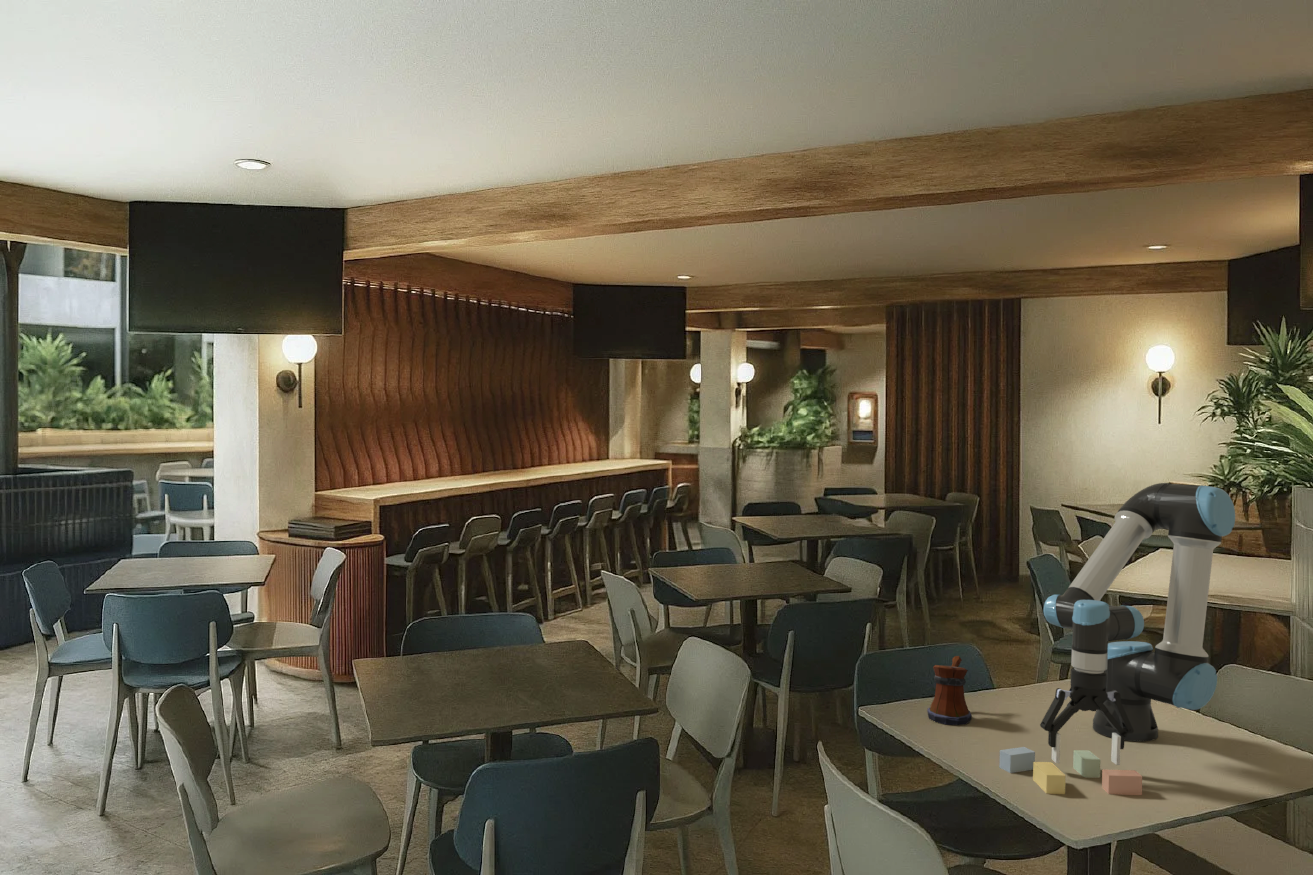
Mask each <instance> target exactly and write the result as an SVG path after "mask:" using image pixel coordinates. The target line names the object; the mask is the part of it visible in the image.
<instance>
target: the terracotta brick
mask: <svg viewBox="0 0 1313 875" xmlns="http://www.w3.org/2000/svg"><path fill="white" fill-rule="evenodd" d="M1101 771H1102V772H1101V774H1102V775H1101V776H1102V777H1101V789H1103V790H1104V791H1105V792H1106V793H1107V794H1108V795H1121V796H1122V795H1127V796H1128V795H1129V796H1142V795H1143V776H1142V774H1140V773H1139V772H1138V771H1137V770H1133V769H1106V768H1105V769H1102V770H1101Z"/></svg>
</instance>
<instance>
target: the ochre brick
mask: <svg viewBox="0 0 1313 875" xmlns="http://www.w3.org/2000/svg"><path fill="white" fill-rule="evenodd" d="M1032 780H1033V782H1034V783H1035V784H1036V785H1038V786H1039V788H1040V789H1041V790H1042V791H1043V792H1044V793H1045V794H1046V795H1048V794H1049V795H1050V794H1051V795H1065V794H1066V774H1065V773H1064V772H1063V771H1061V770H1060V768H1058V767H1057V766H1056V765H1055V764H1054V763H1053V762H1051V761H1050V762H1049V761H1035V762H1033V771H1032Z"/></svg>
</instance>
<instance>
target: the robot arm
mask: <svg viewBox="0 0 1313 875" xmlns="http://www.w3.org/2000/svg"><path fill="white" fill-rule="evenodd" d="M1235 524H1236V510H1235V505H1234V503H1233V500H1232V498H1231V496H1230V495H1229V493H1228V492H1226V491H1225V490H1224V489H1222V488H1219V487H1215V486H1208V485H1198V484H1197V485H1196V484H1183V483H1182V484H1181V483H1171V482H1159V483H1155V484H1151V485H1149V486H1147V487H1144V488H1143V489H1141V490H1139V491H1138V492H1137V493H1135V494H1133V495H1132V496H1131V497H1130V498H1128V500H1127V501H1125V502H1124V503H1123V504H1122V506H1121V507H1119V509H1118V511H1117V512H1116V513H1115V515H1114V524H1113V525H1112V527H1111V528H1110V529H1109V530H1108V532H1107V533H1106V534H1105V536H1104V537H1103V539H1102V540H1101V541H1100V542H1099V544H1098V546H1097V547H1096V548H1095V550H1093V553H1091V555H1090V557H1089V558H1088V560H1087V561H1086V562H1085V564H1084V565H1083V567H1081V570H1080V571H1079V572H1078V573H1077V575H1076V577H1075V578H1074V579H1073V581H1071V583H1070V584H1069V586H1068V587H1067V588H1066V589H1065V592H1064V593H1063V594H1052V595H1051V596H1048V597H1047V599H1045V601H1044V605H1043V615H1044V618H1045V620H1046V621H1047V622H1048V623H1049V624H1050V625H1053V626H1056V627H1060V628H1061V629H1067V630H1068V629H1069V630H1072V644H1071V660H1070V661H1071V663H1070V665H1071V669H1070V687H1069V689H1068V690H1066V689H1065V690H1064V689H1061V688H1060V687H1058V688H1056V689H1055V694H1054V698H1053V699H1052V701H1051V704H1050V706H1049V707H1048V709H1047V711H1046V713H1045V714H1044V716H1043V718H1042V720H1041V722H1040V723H1039V727H1040V728H1041V729H1042V730H1044V731H1046V732H1048V733H1047V734H1048V735H1047V736H1048V738H1047V739H1048V740H1047V745H1048V746H1049V747H1050V748H1051V760H1052V761H1053V762H1054V763H1055V764H1060V756H1061V734H1060V733H1059V732H1060V730H1061V729H1062V728H1063V727H1064V725H1065V724H1067V722H1068V721H1069V720H1070V719H1072V718H1071V717H1073V716H1074V714H1077V713H1078V712H1079V711H1080V710H1081V711H1082V712H1088V711H1090V712H1095V713H1094V717H1093V718H1092V729H1093V731H1094V732H1096V733H1097V734H1100V735H1102V736H1105V737H1108V738H1111V752H1110V754H1111V755H1110V761H1111V762H1112V763H1113V764H1115V765H1116V766H1120V765H1121V750H1124V748H1125V741H1129V742H1149V741H1153V740H1156V739H1158V737H1159V728H1158V727H1159V726H1158V724H1157V721H1156V718H1155V714H1154V711H1153V708H1152V700H1153V701H1157V702H1160V703H1164V704H1167V705H1171V706H1174V707H1176V708H1180V709H1182V708H1183V709H1187V710H1192V711H1197V710H1200V709H1202V708H1203V707H1205V706H1206V705H1208V703H1209V702H1210V701H1211V699H1212V698H1213V697H1214V693H1215V691H1216V689H1217V685H1218V674H1217V671H1216V668H1215V667H1214V666H1213V665H1211V664H1210V663H1209V654H1208V653H1207V652H1206V650H1205V649H1204V648H1203V643H1204V634H1205V626H1206V618H1207V608H1208V601H1209V599H1208V598H1209V590H1210V582H1211V581H1210V580H1211V572H1212V564H1213V556H1214V553H1213V552H1214V550H1215V549H1216V547H1218V546H1220V545H1221V544H1222V538H1223V537H1225V536H1228V535H1230V534H1231V533H1232V531H1233V528H1234V527H1235ZM1161 529H1162V530H1168V534H1167V537H1168V538H1169V539H1170V541H1171V542H1172V543H1173V550H1172V559H1171V565H1170V566H1171V567H1170V576H1169V585H1168V586H1169V587H1168V593H1167V602H1166V610H1165V617H1164V618H1165V619H1164V620H1165V621H1164V629H1163V637H1162V638H1163V639H1162V640H1161V641H1160V642H1159V643H1157V644H1155V648H1153V644H1151V643H1149V642H1146V641H1136V640H1135V641H1128V640H1130V639H1133V638H1136V637H1139V635H1140V634H1141V633H1142V632H1143V630H1144V628H1145V619H1144V616H1143V614H1142V613H1141V611H1140V610H1139V609H1137V608H1136V607H1134V606H1131V605H1124V604H1122V605H1119V606H1118V605H1112V604H1111V605H1110V604H1109V603H1107V602H1105V601H1101V600H1102V598H1103V597H1104V595H1105V594H1106V593H1107V591H1108V590H1109V588H1110V587H1111V586H1112V584H1113V582H1114V581H1115V579H1116V578H1117V577H1118V575H1119V574H1120V573H1121V571H1122V570H1123V568H1124V567H1125V565H1126V564H1127V563H1128V561H1129V560H1130V559H1131V557H1132V556H1133V554H1134V553H1135V551H1136V550H1137V548H1138V547H1139V546H1140V544H1141V543H1142V541H1143V540H1146V539H1149V538H1150V537H1151V536H1152V535H1153V534H1154V532H1155V531H1158V530H1161ZM1122 640H1123V641H1122ZM1125 640H1126V641H1125ZM1068 698H1070V700H1069V701H1068V702H1067V703H1066V707H1065V708H1064V709H1062V707H1063V705H1064V702H1065V701H1066V700H1067V699H1068ZM1061 709H1062V711H1061ZM1060 711H1061V712H1060ZM1059 712H1060V713H1059Z"/></svg>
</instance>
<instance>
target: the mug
mask: <svg viewBox="0 0 1313 875" xmlns="http://www.w3.org/2000/svg"><path fill="white" fill-rule="evenodd" d="M951 660H952V664H951V665H940V664H939V665H938V664H935V665H934V666H933V667H932V668H933V671H934V674H935V675H934V677H933V679H934V681H935V684H936V685H935V689H934V690H935V693H934V697H933V700H932V702H931V704H930V707H928V708H927V710H926V712H927V717H928V719H929V720H930V719H931V720H930V721H932V720H933V722H934V721H935V723H937V722H938V724H942V725H944V726H946V725H947V726H962V725H963V726H965V725H967V724H969V723H970V722H971V721H972V718H973V716H972V712H971V711H970V710H969V708H968V704H967V703H966V698H965V689H964V686H965V685H966V682H967V681H966V678H965V676H966V674H967V673H968V670H967V669H966V668H965V667H961V666H960V665H961V663H962V661H963V659H962V658H961V656H960V655H955V656H954V657H952V659H951ZM959 666H960V667H959Z"/></svg>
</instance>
